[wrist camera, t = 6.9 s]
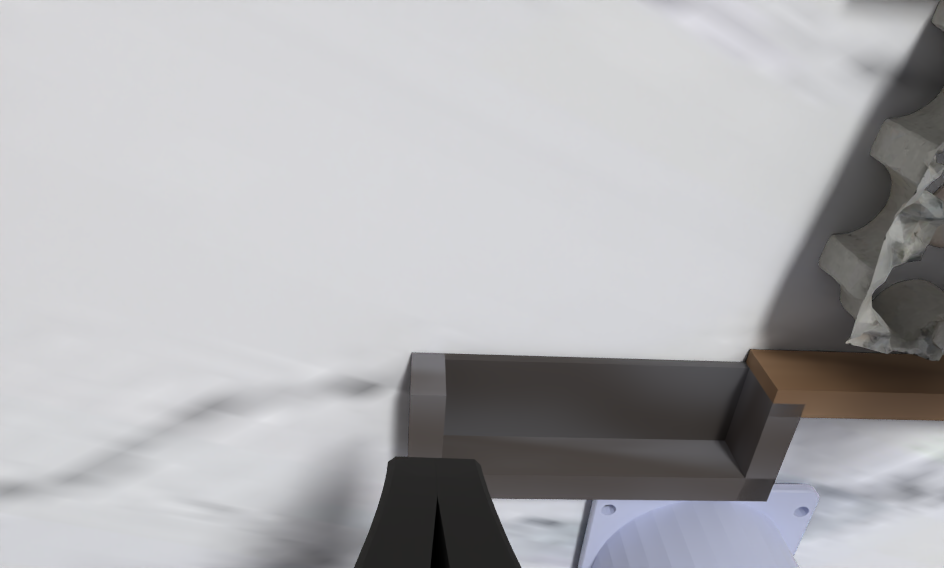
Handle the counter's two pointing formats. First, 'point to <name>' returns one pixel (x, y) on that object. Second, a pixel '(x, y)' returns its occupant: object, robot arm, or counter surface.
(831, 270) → the egg carton
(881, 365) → the dark tray
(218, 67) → the counter surface
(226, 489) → the counter surface
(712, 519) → the robot arm
